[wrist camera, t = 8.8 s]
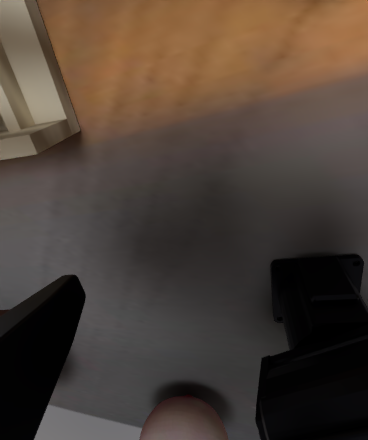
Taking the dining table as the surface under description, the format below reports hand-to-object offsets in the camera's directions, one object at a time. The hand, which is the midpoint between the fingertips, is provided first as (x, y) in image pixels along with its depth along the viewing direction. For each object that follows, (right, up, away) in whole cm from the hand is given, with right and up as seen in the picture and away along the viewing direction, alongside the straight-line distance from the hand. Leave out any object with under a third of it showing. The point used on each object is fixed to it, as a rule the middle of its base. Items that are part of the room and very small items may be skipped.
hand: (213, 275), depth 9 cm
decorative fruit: (0, -18, +25) cm, 30 cm away
